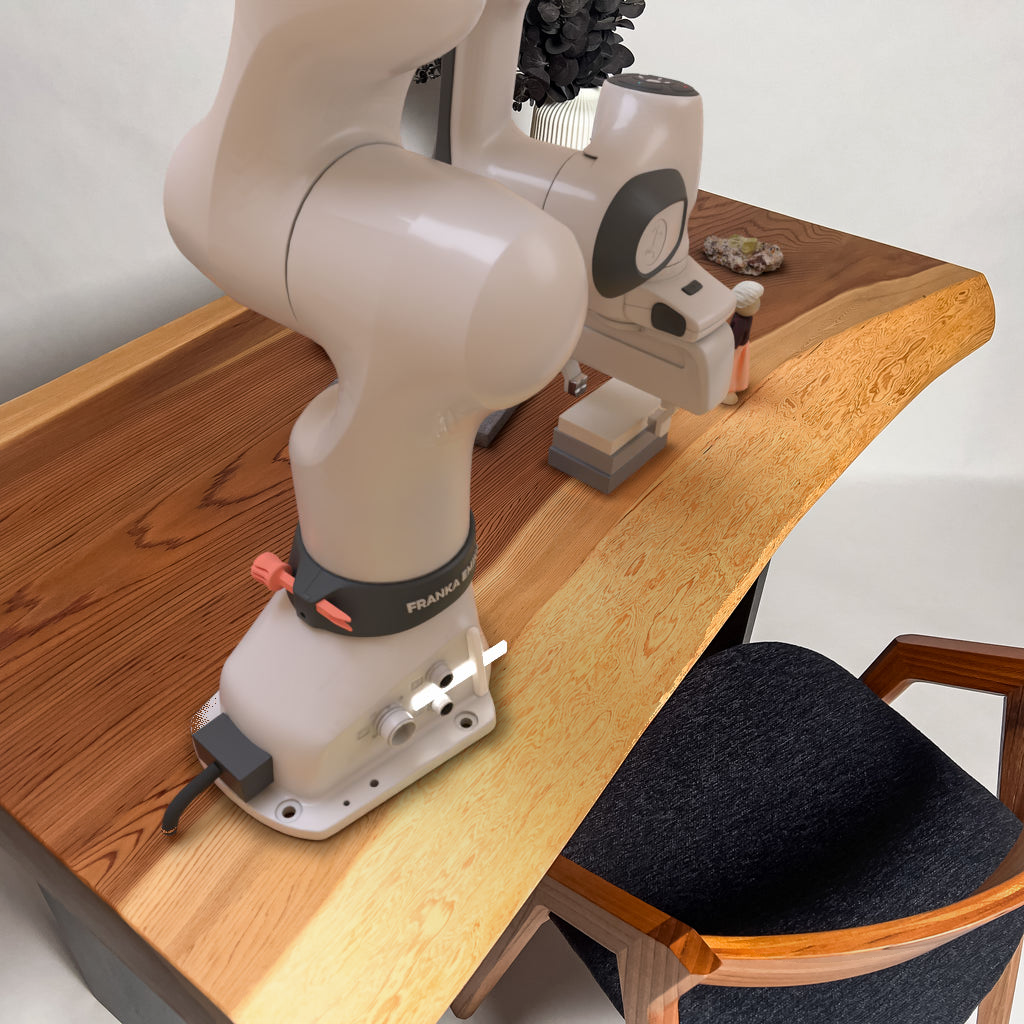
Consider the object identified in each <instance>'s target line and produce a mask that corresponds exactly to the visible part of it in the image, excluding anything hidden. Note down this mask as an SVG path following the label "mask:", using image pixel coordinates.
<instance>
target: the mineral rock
mask: <svg viewBox="0 0 1024 1024" xmlns="http://www.w3.org/2000/svg"><path fill="white" fill-rule="evenodd" d="M701 251H702V253H703V254H705V255H706V258H707V259H708V260H709V261H710V262H713V263H715V264H716V265H719V266H724V267H727V268H729V269H731V271H732V272H734V273H737V274H742V275H752V276H754V277H757V276H759V275H761V274H763V272H771V271H775V270H776V269H778V268H780V266H781V265H782V264H783V262H784V258H785V257H784V254H783V251H781V248H780V246H778V244H772V243H771V242H767V241H759V240H758V238H757V237H744V235H743V236H742V235H740V234H737V233H734V234H732V235H731V236H729V237H725V238H724V237H721V238H720V237H719V236H715V235H707V237H706V238H705V239H704V240H703V246H702V247H701Z"/></svg>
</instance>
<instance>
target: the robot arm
mask: <svg viewBox="0 0 1024 1024" xmlns="http://www.w3.org/2000/svg"><path fill="white" fill-rule="evenodd" d="M530 1H531V0H235V1H234V13H233V22H232V29H231V35H230V42H229V47H228V51H227V57H226V62H225V65H224V69H223V73H222V77H221V79H220V80H221V81H220V83H219V86H218V90H217V94H216V96H215V98H214V101H213V103H212V105H211V108H210V109H209V110H208V112H207V113H206V114H205V116H204V117H203V118H202V119H200V120H199V121H198V122H196V123H195V124H194V125H193V126H192V127H191V128H190V129H189V131H187V132H186V134H184V136H183V137H182V139H181V141H179V143H178V145H177V147H176V148H175V150H174V152H173V153H172V156H171V158H170V160H169V164H168V167H167V170H166V174H165V179H164V184H163V194H162V196H163V198H162V201H163V203H162V204H163V213H164V219H165V222H166V226H167V230H168V233H169V235H170V237H171V239H172V241H173V243H174V244H175V246H176V248H177V249H178V250H179V252H180V253H181V254H182V256H183V257H184V258H185V259H186V260H187V261H188V262H190V263H191V264H192V265H193V266H194V267H195V268H196V269H197V270H198V271H199V272H200V273H201V274H202V275H204V277H205V278H207V279H208V280H209V281H211V282H212V283H213V284H214V286H216V287H218V288H219V290H220V291H222V292H223V293H224V294H226V295H227V296H228V297H229V298H230V299H232V300H233V301H234V302H236V303H238V304H239V305H241V306H243V307H245V308H247V309H249V310H250V311H253V312H255V313H257V314H259V315H261V316H263V317H265V318H267V319H269V320H271V321H274V322H275V323H277V324H279V325H281V326H283V327H285V328H288V329H290V330H292V331H293V332H296V333H297V334H299V335H302V336H304V337H306V338H308V339H310V340H312V341H313V342H314V343H316V344H317V345H318V346H321V347H322V348H323V350H324V351H325V352H326V354H327V356H328V358H329V359H330V361H331V363H332V364H333V366H334V368H335V370H336V371H335V372H336V376H337V377H338V383H336V384H334V385H332V386H330V387H329V388H327V387H326V388H327V389H326V388H325V389H323V390H322V391H320V393H318V394H317V395H316V396H314V398H313V399H311V400H310V402H309V403H308V404H307V405H306V407H305V408H304V409H303V411H302V412H301V413H300V415H299V417H298V418H297V419H296V421H295V422H294V424H293V427H292V429H291V432H290V435H289V439H288V456H289V463H290V470H291V477H292V483H293V490H294V497H295V502H296V508H297V509H296V510H297V514H298V515H297V516H298V521H297V523H296V527H295V531H294V535H293V539H292V542H291V548H290V552H289V556H288V562H283V561H282V560H281V558H279V557H278V556H277V555H276V554H275V553H273V552H271V551H266V552H263V553H261V554H259V555H258V556H257V557H256V558H255V559H254V561H253V562H252V564H253V565H251V568H250V571H251V572H250V575H251V578H252V579H254V580H255V581H257V582H258V583H261V584H263V585H265V586H266V587H267V589H268V590H269V591H270V592H275V593H274V594H273V595H272V596H271V598H270V600H269V601H268V603H266V605H265V606H264V608H263V609H262V611H261V612H260V614H259V615H258V616H257V618H255V621H254V622H253V623H252V625H251V626H250V627H249V628H248V630H247V632H246V633H245V634H244V636H243V637H242V638H241V639H240V641H239V642H238V644H237V645H236V647H235V648H234V649H233V650H232V652H231V653H230V655H229V656H228V657H227V658H226V660H225V662H224V664H223V667H222V669H221V672H220V678H219V686H218V687H219V689H218V690H217V691H216V693H215V694H213V696H211V698H210V699H209V700H210V701H209V700H208V701H207V702H206V703H205V704H204V705H205V706H208V707H209V708H208V707H205V706H204V705H202V707H201V708H202V709H203V707H205V708H204V710H206V711H204V710H201V708H200V709H199V710H201V711H202V712H201V713H203V714H201V713H198V711H199V710H198V711H197V712H196V713H198V714H200V715H202V716H200V715H197V714H196V713H195V715H197V716H199V717H202V718H203V719H201V718H199V719H201V722H203V721H204V722H203V723H201V722H199V723H200V724H203V725H204V726H203V725H200V724H198V725H200V726H199V727H200V729H199V728H197V729H199V730H197V731H196V732H195V733H193V734H192V733H191V737H192V738H191V739H192V744H193V745H192V746H193V748H194V752H195V756H196V757H197V759H198V762H199V763H200V765H201V767H202V768H203V770H202V771H201V772H199V774H197V775H196V776H195V777H194V778H192V779H191V780H190V781H189V782H188V783H186V785H184V787H182V789H181V790H180V791H179V792H177V794H175V796H174V797H173V798H172V800H171V801H170V803H169V804H168V805H167V807H166V809H165V811H164V814H163V816H162V817H163V818H162V824H161V828H162V829H163V830H165V831H167V832H168V831H170V830H173V829H175V827H177V826H178V827H179V821H180V818H181V817H182V814H183V813H184V812H185V811H186V809H187V808H188V807H189V805H190V804H191V803H192V802H193V801H194V800H195V799H196V798H197V797H199V795H200V794H202V793H203V792H205V790H206V789H207V788H208V787H210V786H211V785H212V784H213V783H214V784H215V785H216V786H217V787H218V788H219V790H221V791H222V792H223V794H225V795H226V797H228V798H229V799H230V800H231V801H232V802H233V803H234V804H236V805H237V806H238V807H239V808H240V809H241V810H243V811H244V812H245V813H247V814H248V815H249V816H251V817H252V818H254V819H256V820H257V821H259V822H260V823H261V824H264V825H266V826H267V827H269V828H271V829H273V830H274V831H278V832H280V833H283V834H284V835H288V836H292V837H295V838H299V839H305V840H312V841H322V840H323V841H324V840H326V839H328V838H330V837H332V836H334V835H335V834H336V833H338V832H340V831H342V830H344V829H345V828H346V827H348V826H349V825H351V824H353V823H354V822H355V821H357V820H358V819H360V818H361V817H363V816H364V815H366V814H368V813H369V812H371V811H372V810H374V809H375V808H376V807H378V806H380V805H381V804H383V803H384V802H386V801H388V800H389V799H391V798H392V797H393V796H395V795H397V794H398V793H400V792H401V791H402V790H405V789H406V788H407V787H409V786H410V785H412V784H414V783H415V782H416V781H418V780H419V779H421V778H422V777H424V776H425V775H427V774H429V773H430V772H432V771H433V770H435V769H436V768H438V767H439V766H441V765H443V764H444V763H445V762H447V761H448V760H450V759H452V758H453V757H456V755H458V754H459V753H461V752H462V751H464V750H465V749H467V748H469V747H470V746H472V745H473V744H474V743H477V742H478V741H479V740H481V739H482V738H484V737H485V736H487V735H488V734H490V733H491V732H492V731H493V730H494V729H495V727H496V725H497V713H496V707H495V703H494V700H493V697H492V694H491V691H490V689H489V688H490V687H489V686H490V680H491V673H492V662H493V661H494V660H496V659H498V658H499V657H501V656H502V655H504V654H506V653H507V642H506V641H505V640H502V641H500V642H499V643H497V644H496V645H494V646H493V647H491V648H490V646H489V642H488V640H487V637H486V636H485V634H484V631H483V629H482V626H481V624H480V623H481V622H480V618H479V612H478V606H477V602H476V601H477V599H476V596H475V590H474V584H473V583H474V582H473V579H474V576H475V574H476V570H477V557H478V550H479V545H478V543H477V529H476V528H477V526H476V519H475V515H474V512H473V510H472V507H471V481H472V480H471V478H472V466H473V465H472V464H473V451H474V445H475V444H474V441H475V437H476V434H477V431H478V429H479V427H480V425H481V424H482V422H483V421H484V419H485V418H486V417H488V416H489V415H490V414H492V413H494V412H496V411H498V410H503V409H507V408H510V407H513V406H515V405H517V404H519V403H520V404H521V403H523V402H525V401H527V400H529V399H530V398H532V397H533V396H535V395H536V394H538V393H539V392H541V390H543V389H544V388H545V387H547V386H548V385H549V384H550V383H551V382H552V381H553V380H554V379H555V378H556V377H557V376H558V375H559V373H560V372H561V375H562V377H563V378H564V381H563V385H564V386H563V392H564V393H566V394H568V395H570V396H572V397H575V398H579V397H580V396H581V395H584V394H585V393H586V391H587V389H588V385H587V383H588V381H589V380H588V379H589V378H588V377H589V376H588V375H587V374H585V373H583V372H582V370H581V367H580V364H582V365H585V366H587V367H589V368H591V369H594V370H596V371H598V372H600V373H602V374H605V375H607V376H609V377H611V378H616V379H618V380H620V381H622V382H624V383H627V384H629V385H631V386H633V387H635V388H638V389H640V390H642V391H644V392H646V393H649V394H651V395H653V396H655V397H658V398H660V399H661V407H662V408H664V409H665V411H663V410H661V409H657V410H656V411H655V413H654V414H651V415H650V416H649V417H648V421H647V424H648V426H647V428H646V430H647V431H649V432H651V433H652V434H654V435H656V436H659V437H662V436H663V435H664V434H666V433H667V432H668V433H669V431H670V428H671V423H672V417H673V416H674V415H675V414H677V412H678V411H679V410H680V409H682V410H684V411H686V412H689V413H691V414H693V415H695V416H698V417H701V416H704V415H706V414H708V413H709V412H712V411H713V410H715V408H717V407H719V405H720V404H721V403H722V401H723V400H724V399H725V397H726V396H727V394H728V391H729V387H730V383H731V377H732V370H733V361H734V347H735V344H734V335H733V332H732V329H731V327H730V326H729V325H730V323H728V320H729V318H730V317H731V316H733V315H734V313H735V312H736V310H735V308H736V304H737V298H736V295H735V294H734V293H733V292H732V291H731V290H732V289H730V288H729V287H727V286H726V285H725V284H724V283H722V282H721V281H720V280H719V279H717V278H715V276H713V275H712V274H711V273H710V272H708V271H707V270H706V269H705V268H703V267H702V266H701V265H700V264H699V263H698V262H697V261H696V260H695V259H694V258H693V257H692V256H691V255H690V254H689V250H690V249H689V248H690V239H689V238H690V237H689V232H688V231H689V230H688V228H689V227H688V224H689V219H690V216H691V214H692V212H693V210H694V207H695V205H696V202H697V200H698V199H697V198H698V191H699V186H700V178H701V170H702V163H703V147H704V105H703V104H704V103H703V96H702V95H701V94H700V92H699V91H698V90H696V89H695V88H694V86H692V85H690V84H689V83H685V82H683V81H681V80H677V79H672V78H668V77H663V76H659V75H653V74H642V73H635V72H627V73H624V72H623V73H618V74H614V75H613V76H608V77H607V78H605V79H604V80H603V82H602V85H601V88H600V91H599V96H598V100H597V104H596V109H595V113H594V119H593V123H592V129H591V136H590V138H591V141H590V142H589V144H588V145H586V146H585V147H584V148H583V150H581V149H576V148H572V147H569V146H564V145H560V144H557V143H553V142H549V141H544V140H541V139H538V138H537V139H536V138H533V137H531V136H528V135H527V134H526V133H525V132H523V131H522V129H521V128H519V127H518V125H517V124H516V122H515V120H514V118H513V115H512V109H513V101H514V94H515V93H514V92H515V86H516V78H517V71H518V63H519V55H520V47H521V39H522V32H523V24H524V19H525V15H526V11H527V8H528V5H529V3H530ZM439 58H441V66H440V67H441V68H440V78H439V79H440V80H439V95H438V109H437V124H436V134H435V140H434V145H433V149H432V155H431V157H429V156H426V155H424V154H420V153H417V152H414V151H411V150H410V149H409V150H408V149H406V148H405V147H404V143H403V141H402V133H401V128H402V127H401V125H402V117H403V110H404V106H405V101H406V99H407V94H408V91H409V88H410V85H411V82H412V80H413V78H414V76H415V74H416V72H417V70H418V68H420V67H423V66H425V65H427V64H429V63H431V62H433V61H435V60H437V59H439ZM215 698H216V699H215ZM208 702H209V703H208ZM215 703H216V704H215ZM206 704H208V705H206ZM209 705H210V706H209ZM212 706H213V707H212ZM206 708H207V709H206ZM207 711H208V712H207ZM199 712H200V711H199ZM205 712H206V713H205ZM204 714H205V715H204ZM195 715H194V716H195ZM194 716H193V717H192V719H193V718H194ZM203 716H204V717H203ZM206 717H207V718H206ZM197 718H198V717H197ZM204 719H206V720H204ZM196 720H197V719H196ZM202 720H203V721H202ZM207 720H209V721H207ZM198 721H200V720H198ZM198 721H197V722H198ZM205 721H206V722H207V723H206V722H205ZM191 722H192V720H191V721H190V723H191ZM193 723H194V722H193ZM204 723H205V724H204ZM195 724H197V723H195ZM198 725H197V727H198ZM463 725H468V726H469V727H464V726H463ZM201 726H202V727H201ZM195 728H196V727H195ZM190 729H191V732H192V727H191V726H190ZM194 730H195V729H194ZM290 813H294V815H293V816H291V817H285V816H286V815H287V814H290ZM178 827H177V828H176V829H175V830H174V831H173V832H171V833H163V831H162V830H161V828H160V831H161V833H162V834H163V835H165V836H174V835H175V834H177V831H178Z"/></svg>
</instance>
